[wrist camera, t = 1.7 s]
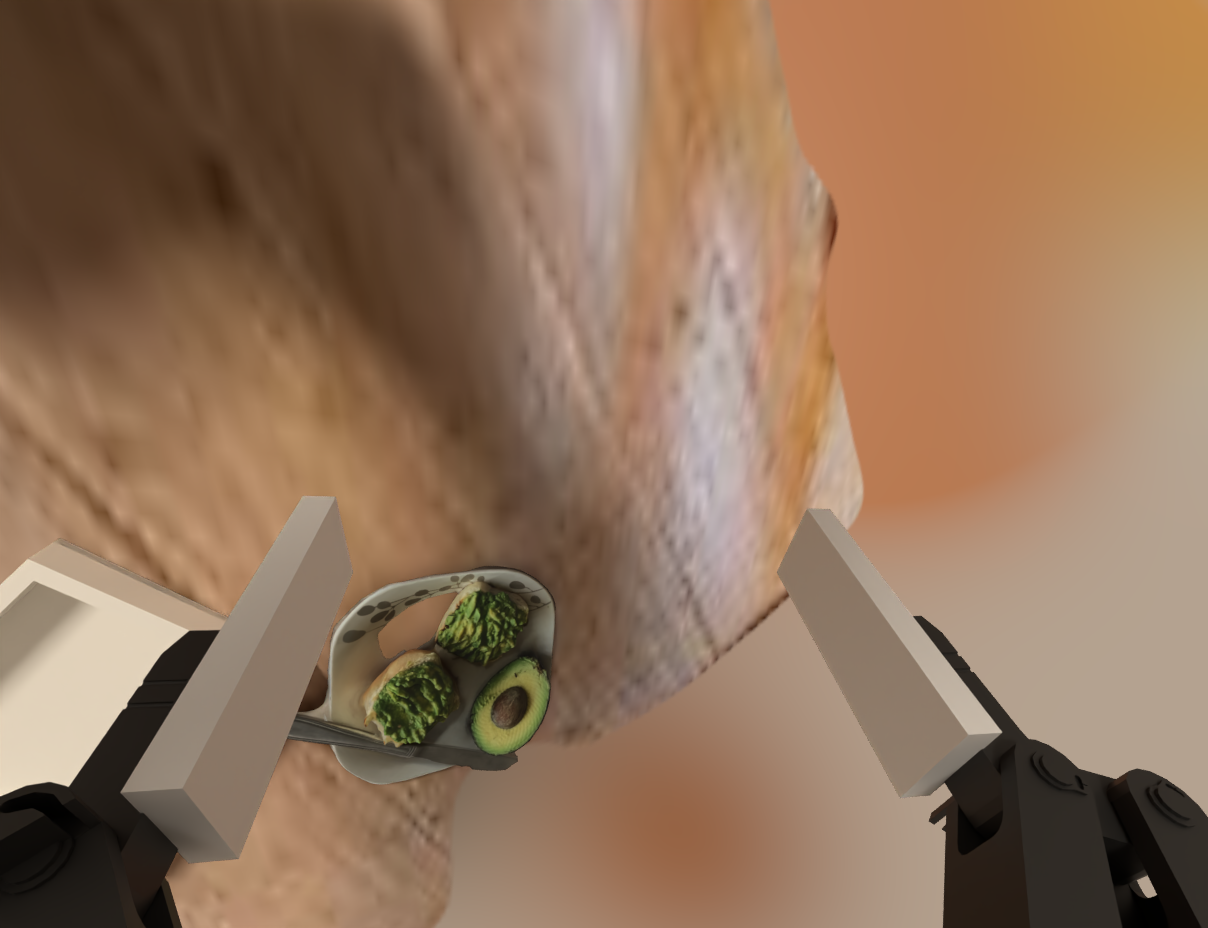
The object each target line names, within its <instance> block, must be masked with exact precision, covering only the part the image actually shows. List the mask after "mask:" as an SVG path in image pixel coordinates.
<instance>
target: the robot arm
mask: <svg viewBox="0 0 1208 928" xmlns="http://www.w3.org/2000/svg"><path fill="white" fill-rule="evenodd" d="M777 573H778V575H779V577H780V579H781V581H782V583H783V584H784V586H785V588H786V590H787V592H788V594H789V595H790V597H791V599H792V601H793V603H794V604H795V606H796V608H797V610H798V612H799V614H800V615H801V617H802V619H803V621H804V623H805V625H806V627H807V629H808V630H809V632H810V634H811V636H812V637H813V640H814V641H815V643H816V645H817V647H818V649H819V651H820V652H821V654H822V656H823V658H824V660H825V662H826V663H827V665H828V667H829V669H830V671H831V673H832V674H833V676H834V678H835V680H836V682H837V683H838V685H839V687H840V689H841V691H842V693H843V695H844V696H845V698H846V700H847V702H848V704H849V706H850V707H851V709H852V711H853V713H854V715H855V717H856V718H857V720H858V722H859V724H860V726H861V728H862V729H863V731H864V733H865V735H866V736H867V739H868V741H869V742H870V744H871V746H872V748H873V750H874V751H875V753H876V755H877V757H878V759H879V761H880V763H881V764H882V766H883V768H884V770H885V772H886V774H887V775H888V777H889V779H890V781H891V783H892V785H893V786H894V788H895V790H896V792H897V794H898V795H899V797H900V798H906V797H917V796H928V795H931V794H932V793H933V792H934V791H935V790H937V789H938V788H939V787H940V786H941V785H942V784H944V783H945V784H946V785H947V787H948V789H949V790H950V792H951V793H952V795H953V796H952V797H950V798H949V799H948V800H947V801H946V802H945V803H943V804H942V805H941V806H939V807H938V808H937V809H936V810H934V811H933V812H932V813H931V816H930V819H929V822H931V823H932V824H935V823H937V822H938V821H939V820H941V819H942V818H943V817H944V816H946V825H945V826H944V827H943V828H942V830H944V831H945V832H946V842H945V843H946V844H945V879H944V912H943V928H1208V817H1207V816H1206V814H1205V813H1204V812H1203V811H1202V809H1201V808H1200V807H1199V805H1198V804H1196V803H1195V802H1194V801H1193V800H1192V799H1191V798H1190V797H1189V796H1188V795H1187V794H1186V793H1185V792H1184V791H1182V790H1181V789H1179V788H1178V787H1176V786H1175V785H1174V784H1172V783H1171V782H1169V781H1168V780H1167V779H1165V778H1163V777H1161V776H1159V775H1156V774H1155V773H1152V772H1150V771H1146V770H1141V769H1134V770H1131V771H1128V772H1127V773H1125V774H1124V775H1122V776H1121V777H1119V778H1117V779H1113V778H1110V777H1106V776H1103V775H1098V774H1095V773H1092V772H1088V771H1085V770H1081V769H1078V768H1077V767H1076V766H1075V765H1074V764H1073V763H1072V762H1071V761H1070V760H1069V759H1067V758H1066V757H1065V756H1064V755H1063V754H1061V753H1060V752H1058V751H1057V750H1055V749H1054V748H1052V747H1051V746H1049V745H1047V744H1044V743H1042V742H1039V741H1037V740H1031V739H1028V738H1027V737H1026V736H1025V735H1024V734H1023V732H1022V731H1021V730H1020V729H1019V728H1018V727H1017V725H1016V724H1015V723H1014V722H1013V720H1012V719H1011V718H1010V717H1009V715H1008V714H1007V713H1006V712H1005V710H1004V709H1003V708H1002V707H1001V706H1000V704H999V703H998V702H997V700H996V699H995V698H994V697H993V695H992V694H991V693H990V692H989V691H988V689H987V688H986V687H985V686H984V685H983V683H982V682H981V681H980V679H979V678H978V677H977V676H976V674H975V673H974V672H971V671H970V667H969V666H968V664H967V663H966V662H965V661H964V659H963V658H962V657H961V656H958V654H957V653H958V652H957V651H956V650H955V648H954V647H953V646H952V645H951V643H950V642H949V641H948V640H947V638H946V637H945V636H944V635H943V633H942V632H940V631H939V630H938V629H937V628H936V627H934V626H933V625H932V624H931V623H929V622H928V621H927V620H926V619H924V618H923V617H922V616H912V615H911V613H910V612H909V611H908V610H907V608H906V607H905V606H904V604H903V603H902V602H901V600H900V599H899V598H898V597H897V595H896V594H895V593H894V591H893V590H892V589H891V588H890V586H889V585H888V584H887V582H886V581H885V580H884V578H883V577H882V576H881V575H880V573H879V572H878V571H877V569H876V568H875V567H874V565H873V564H872V563H871V562H870V561H869V559H868V558H867V556H866V555H865V554H864V552H863V551H862V550H861V549H860V548H859V546H858V545H857V543H856V542H855V541H854V540H853V538H852V537H851V536H850V534H849V533H848V532H847V530H846V529H845V528H844V527H843V525H842V524H841V523H840V521H839V520H838V519H837V517H836V516H835V515H834V514H833V512H832V511H831V510H830V509H807V510H806V512H805V514H804V516H803V518H802V520H801V522H800V524H799V527H798V529H797V531H796V533H795V535H794V537H793V539H792V541H791V543H790V546H789V548H788V550H787V552H786V554H785V556H784V558H783V560H782V562H781V564H780V567H779V569H778V571H777ZM352 574H353V570H352V565H351V561H350V557H349V552H348V548H347V544H346V539H345V535H344V530H343V526H342V522H341V517H340V513H339V509H338V504H337V500H336V497H326V496H303V497H302V498H301V500H300V501H299V503H298V505H297V506H296V508H295V510H294V511H293V513H292V514H291V516H290V518H289V519H288V521H287V523H286V524H285V526H284V527H283V529H282V531H281V532H280V534H279V536H278V537H277V539H276V540H275V542H274V544H273V545H272V547H271V549H270V550H269V552H268V553H267V555H266V557H265V558H264V560H263V562H262V563H261V565H260V566H259V568H258V570H257V571H256V573H255V575H254V576H253V578H252V579H251V581H250V583H249V584H248V586H247V588H246V589H245V591H244V592H243V594H242V596H241V597H240V599H239V601H238V602H237V604H236V605H235V607H234V609H233V610H232V612H231V614H230V615H229V617H228V618H227V620H226V622H225V623H224V625H223V627H222V628H221V630H192V631H188V632H187V633H186V634H185V635H183V636H182V637H181V638H180V639H179V640H177V641H176V642H175V643H174V644H173V645H172V646H170V647H169V648H168V649H167V650H166V651H164V652H163V653H162V654H161V655H160V657H159V658H158V660H157V661H156V662H155V664H154V665H153V667H152V668H151V670H150V671H149V673H148V674H147V675H146V677H145V678H144V680H143V684H142V686H139V687H138V688H137V690H136V691H135V693H134V694H133V695H132V697H131V698H130V700H129V701H128V703H127V707H126V709H123V710H122V711H121V713H120V714H119V715H118V717H117V718H116V720H115V721H114V723H113V724H112V725H111V727H110V728H109V730H108V731H107V733H106V734H105V735H104V737H103V738H102V740H101V741H100V743H99V744H98V746H97V747H96V748H95V750H94V751H93V753H92V754H91V756H90V757H89V758H88V760H87V761H86V763H85V764H84V766H83V767H82V768H81V770H80V771H79V773H78V774H77V776H76V777H75V778H74V780H73V781H72V783H71V784H70V786H69V787H67V786H65V785H61V784H57V783H53V782H45V783H39V784H33V785H26V786H24V787H22V788H19V789H17V790H14V791H12V792H10V793H7V794H5V795H2V796H0V928H182V926H181V922H180V919H179V916H178V912H177V909H176V906H175V902H174V899H173V896H172V893H171V889H170V886H169V883H168V881H167V880H166V879H165V875H166V873H167V871H168V869H169V867H170V865H171V863H172V861H173V859H174V857H175V855H176V853H177V852H178V853H179V854H180V855H181V856H182V857H183V858H184V859H185V860H186V861H187V862H188V863H199V862H210V861H221V860H232V859H239V857H240V854H241V852H242V849H243V847H244V844H245V842H246V839H247V837H248V834H249V832H250V829H251V827H252V824H253V822H254V819H255V817H256V814H257V812H258V809H259V807H260V804H261V802H262V799H263V797H264V794H265V792H266V789H267V787H268V784H269V782H270V779H271V777H272V774H273V772H274V769H275V767H276V764H277V762H278V759H279V757H280V754H281V751H282V749H283V746H284V744H285V741H286V739H287V736H288V734H289V731H290V729H291V726H292V724H293V721H294V719H295V716H296V714H297V711H298V709H299V706H300V704H301V701H302V699H303V696H304V694H305V691H306V689H307V686H308V684H309V681H310V679H311V676H312V674H313V671H314V669H315V666H316V664H317V661H318V659H319V656H320V654H321V651H322V649H323V646H324V644H325V641H326V639H327V636H328V634H329V631H330V629H331V626H332V624H333V621H334V619H335V616H336V614H337V611H338V609H339V606H340V604H341V601H342V599H343V596H344V594H345V591H346V589H347V586H348V584H349V581H350V579H351V576H352ZM1147 875H1148V877H1149V879H1150V881H1151V883H1152V885H1153V887H1154V889H1155V891H1156V893H1157V895H1156V896H1154V897H1151V898H1147V897H1146V896H1145V895H1144V893H1143V892H1142V890H1141V888H1140V886H1139V884H1138V882H1137V880H1138V879H1140V878H1143V877H1145V876H1147Z"/></svg>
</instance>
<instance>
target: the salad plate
mask: <svg viewBox="0 0 1208 928" xmlns="http://www.w3.org/2000/svg"><path fill="white" fill-rule="evenodd" d="M453 592H457V593H458V595H457V596H456V598H455V599H454V600H453V602H452V603H451V605H450V606H449V608H448V610H447V611H446V613H445V614H444V616H443V618H442V620H441V623H440V625H439V627H438V630H437V632H436V633H435V635H434V636H433V638H432V639H431V640H430V641H428V642H426V643H425V644H423V645H422V646H420V647H419V648H418V649H412V650H409V651H405V650H404V651H401V652H400V653H398V654H397V655H396V656H395V657H393V658H391V659H386V658H385V657H384V656H383V654H382V651H381V649H380V647H379V641H378V633H379V632H380V631H381V630H382V629H383V628H384V627H385V626H386V624H387V623H388V622H389V621H391V620H392V619H393V618H394V617H395V616H397V615H399V614H400V613H401V612H402V611H404V610H405V609H406V608H408V607H410V606H412V605H414V604H416V603H418V602H420V601H423V600H424V599H427V598H430V597H434V596H439V595H442V594H447V593H453ZM554 630H555V602H554V599H553V596H552V595H551V593H550V592H549V590H548V589H547V588H546V587H545V586H544V585H542V584H541V583H540V582H539V581H538V580H537V579H535V578H534V577H532V576H531V575H529V574H527V573H525V572H523V571H520V570H517V569H512V568H506V567H497V566H484V567H479V568H476V569H473V570H470V571H465V572H456V573H450V574H435V575H430V576H425V577H421V578H416V579H412V580H408V581H403V582H397V583H391V584H387V585H386V586H384V587H382V588H379V589H378V590H376V591H374V592H373V593H371V594H369V595H368V596H366V597H364V598H362V599H361V600H360V601H359V602H358V603H357V604H356V605H355V606H354V607H352V608H351V609H350V610H349V611H348V613H347V614H346V615H345V616H344V617H343V618H342V619H341V620H340V621H339V622H338V623H337V624H336V626H335V627H334V629H333V633H332V637H331V640H330V656H329V662H328V690H327V693H326V698H325V701H324V703H323V704H322V705H321V706H320V707H319V708H317V709H315V710H311V711H307V712H297V714H296V716H295V719H294V721H293V724H292V726H291V729H290V731H289V734H288V736H287V739H292V740H299V741H304V742H313V743H321V744H329V745H330V746H331V749H332V750H333V752H334V754H335V756H336V758H337V759H338V761H339V763H340V764H341V765H342V766H343V767H344V768H345V769H346V770H347V771H349V772H350V773H352V774H353V775H355V776H357V777H359V778H360V779H362V780H365V781H367V782H369V783H373V784H390V783H393V782H400V781H405V780H409V779H412V778H415V777H419V776H423V775H426V774H428V773H432V772H436V771H439V770H443V769H446V768H449V767H451V766H454V765H460V766H470V767H471V768H472V769H475V770H487V771H488V770H490V771H497V770H506V769H507V768H509V767H510V766H511V765H513V764H514V763H516V762H517V761H518V758H517V756H516V755H515V751H517V750H518V749H520V748H521V747H523V746H524V745H525V744H526V743H527V742H529V741H530V740H531V738H532V737H533V735H534V734H535V732H536V731H537V730H538V728H539V726H540V725H541V723H542V721H543V719H544V716H545V714H546V711H547V708H548V704H549V699H550V690H551V683H550V680H551V667H552V655H553V653H552V649H553V643H554Z"/></svg>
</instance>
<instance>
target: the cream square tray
mask: <svg viewBox="0 0 1208 928" xmlns="http://www.w3.org/2000/svg"><path fill="white" fill-rule="evenodd" d="M227 618H228V617H226V616H224V615H222V614H220V613H218V612H216V611H213V610H211V609H209V608H207V607H205V606H203V605H201V604H199V603H196V602H194V601H192V600H190V599H188V598H186V597H184V596H182V595H180V594H177V593H175V592H173V591H171V590H169V589H167V588H165V587H163V586H160V585H158V584H156V583H154V582H152V581H150V580H148V579H146V578H144V577H141V576H139V575H137V574H135V573H133V572H131V571H129V570H127V569H125V568H122V567H120V566H118V565H116V564H114V563H112V562H110V561H108V560H105V559H103V558H101V557H99V556H97V555H95V554H93V553H91V552H89V551H86V550H84V549H82V548H80V547H78V546H76V545H74V544H72V543H69V542H67V541H65V540H63V539H61V538H59V539H57V540H56V541H54V542H53V543H51V544H50V545H48V546H47V547H45V548H44V549H42V550H41V551H39V552H37V553H36V554H34V555H33V556H31V557H30V558H28V559H27V560H26V561H25V562H24V563H23V564H22V565H21V566H20V567H19V568H18V569H17V570H15V571H14V572H13V573H12V574H11V575H10V576H9V577H8V578H7V579H6V580H5V581H4V582H3V583H2V584H1V585H0V796H2V795H5V794H7V793H10V792H12V791H14V790H17V789H19V788H22V787H24V786H26V785H33V784H39V783H45V782H53V783H57V784H61V785H65V786H67V787H69V786H70V784H71V783H72V781H73V780H74V778H75V777H76V776H77V774H78V773H79V771H80V770H81V768H82V767H83V766H84V764H85V763H86V761H87V760H88V758H89V757H90V756H91V754H92V753H93V751H94V750H95V748H96V747H97V746H98V744H99V743H100V741H101V740H102V738H103V737H104V735H105V734H106V733H107V731H108V730H109V728H110V727H111V725H112V724H113V723H114V721H115V720H116V718H117V717H118V715H119V714H120V713H121V711H122V710H123V709H126V707H127V703H128V701H129V700H130V698H131V697H132V695H133V694H134V693H135V691H136V690H137V688H138V687H139V686H142V684H143V680H144V678H145V677H146V675H147V674H148V673H149V671H150V670H151V668H152V667H153V665H154V664H155V662H156V661H157V660H158V658H159V657H160V655H161V654H162V653H163V652H164V651H166V650H167V649H168V648H169V647H170V646H172V645H173V644H174V643H175V642H176V641H177V640H179V639H180V638H181V637H182V636H183V635H185V634H186V633H187V632H188V631H192V630H221V628H222V627H223V625H224V623H225V622H226V620H227Z"/></svg>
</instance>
